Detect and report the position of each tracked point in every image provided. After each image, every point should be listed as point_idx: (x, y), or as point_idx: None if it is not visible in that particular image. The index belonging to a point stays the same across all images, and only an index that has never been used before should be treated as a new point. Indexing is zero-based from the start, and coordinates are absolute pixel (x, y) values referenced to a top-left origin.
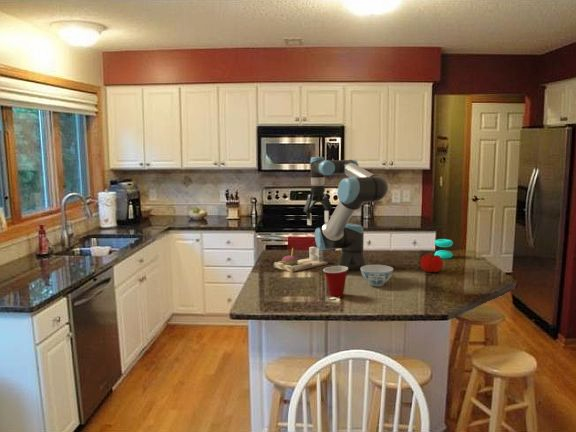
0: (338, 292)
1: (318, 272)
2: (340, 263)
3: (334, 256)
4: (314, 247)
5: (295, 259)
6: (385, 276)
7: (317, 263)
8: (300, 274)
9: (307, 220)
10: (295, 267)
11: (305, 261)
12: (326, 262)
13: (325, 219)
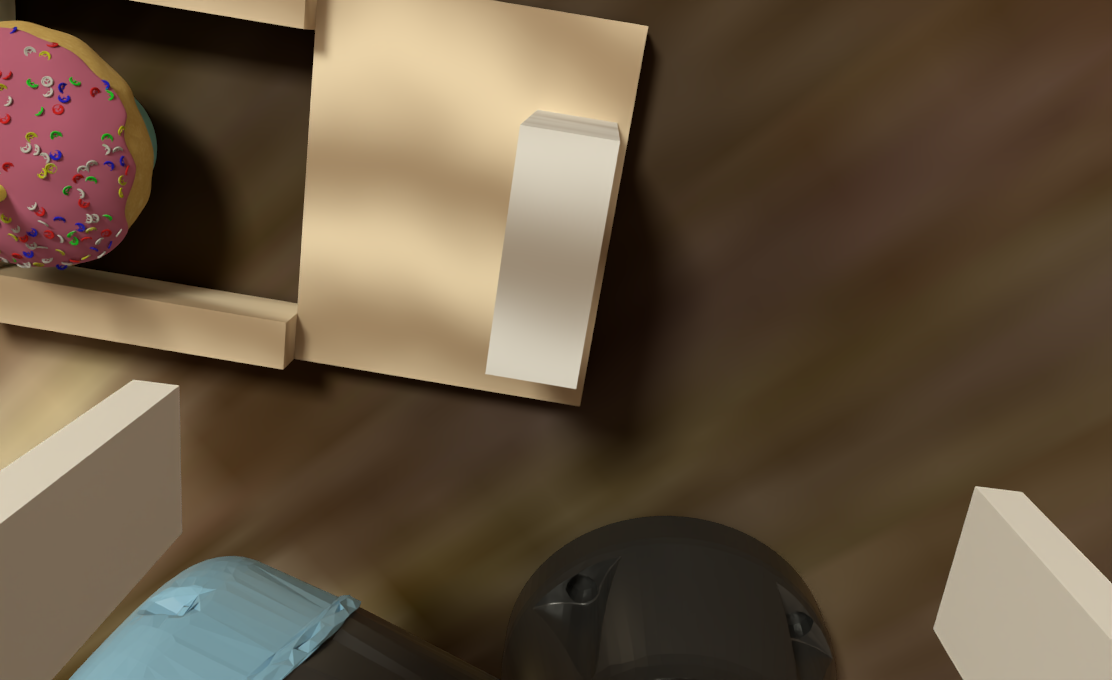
0: None
1: (212, 516)
2: (515, 629)
3: (1083, 169)
4: (570, 214)
5: (33, 262)
6: None
7: (420, 352)
8: (8, 419)
9: (42, 456)
10: (7, 318)
11: (407, 144)
12: (550, 401)
13: (1009, 582)
